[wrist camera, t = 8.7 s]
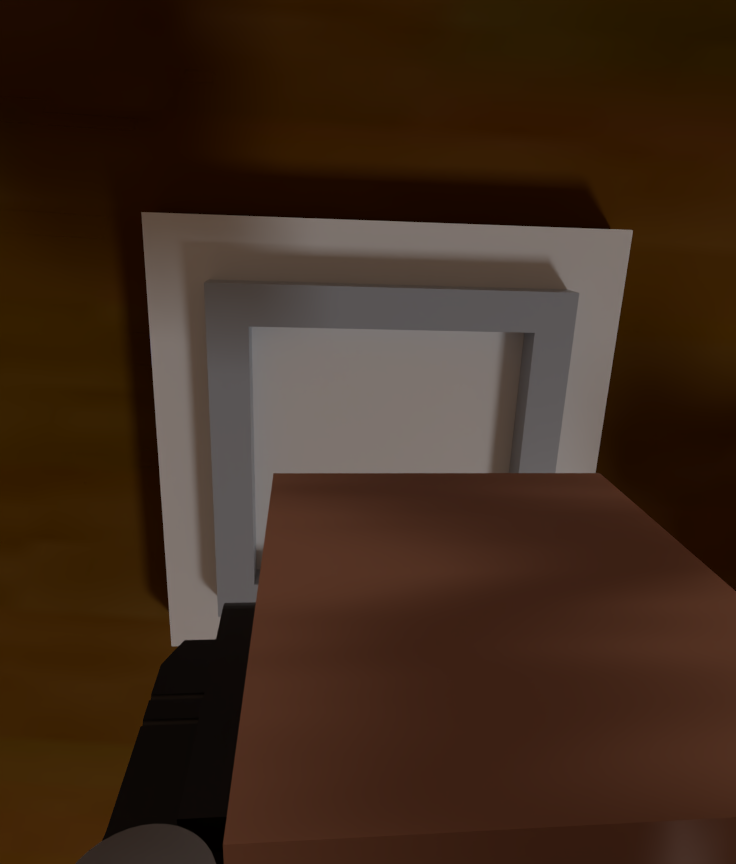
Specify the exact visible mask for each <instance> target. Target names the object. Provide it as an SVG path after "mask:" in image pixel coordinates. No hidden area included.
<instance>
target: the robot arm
mask: <svg viewBox="0 0 736 864" xmlns="http://www.w3.org/2000/svg"><path fill="white" fill-rule="evenodd" d="M255 605H256V602H242V603H224V605H223V609H222V614H221V618H220V623H219V628H218V632H217V637H216V639H209V640H184V641H183V642H182V643H181V644H180V645H179V646H178V648H177V649H176V650H175V651H174V652H173V653H172V654H171V655H170V656H169V657H168V658H167V659H166V660H165V661H164V662H163V663H162V665H161V667H160V670H159V673H158V676H157V679H156V682H155V685H154V688H153V691H152V694H151V700H149V703H148V706H147V709H146V712H145V715H144V718H143V726H141V727H140V731H139V734H138V737H137V740H136V743H135V746H134V749H133V752H132V755H131V758H130V761H129V764H128V767H127V770H126V773H125V776H124V779H123V782H122V785H121V788H120V791H119V794H118V797H117V800H116V804H115V807H114V810H113V813H112V816H111V819H110V822H109V825H108V828H107V831H106V833H105V836H104V838H103V840H102V842H100V843H99V844H97V845H96V846H95V847H93V848H92V849H91V850H89V851H88V852H87V853H86V854H85V855H84V856H83V857H82V858H81V859H79V860H78V861H77V863H76V864H224V858H223V840H224V833H225V826H226V818H227V811H228V804H229V796H230V789H231V782H232V774H233V767H234V760H235V752H236V745H237V738H238V730H239V723H240V716H241V708H242V701H243V694H244V686H245V679H246V671H247V664H248V657H249V649H250V642H251V635H252V627H253V620H254V613H255Z"/></svg>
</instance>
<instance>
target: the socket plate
mask: <svg viewBox="0 0 736 864" xmlns="http://www.w3.org/2000/svg"><path fill="white" fill-rule="evenodd" d="M141 215H142V230H143V244H144V258H145V273H146V287H147V301H148V316H149V330H150V344H151V359H152V373H153V387H154V402H155V416H156V430H157V445H158V459H159V473H160V488H161V502H162V516H163V530H164V545H165V559H166V573H167V588H168V602H169V616H170V631H171V645H172V646H179V645H180V644H181V643H182V642H183V641H184V640H209V639H216V637H217V632H218V628H219V623H220V618H221V614H222V609H223V605H224V603H242V602H256V598H257V591H258V583H259V576H260V569H261V561H262V554H263V547H264V539H265V532H266V525H267V517H268V510H269V502H270V495H271V488H272V480H273V473H596V466H597V460H598V453H599V447H600V440H601V434H602V427H603V421H604V414H605V408H606V401H607V395H608V389H609V382H610V376H611V369H612V363H613V356H614V350H615V343H616V337H617V330H618V324H619V317H620V311H621V304H622V298H623V291H624V285H625V278H626V272H627V266H628V259H629V253H630V246H631V240H632V233H633V230H617V229H589V228H562V227H535V226H508V225H480V224H453V223H426V222H399V221H371V220H344V219H317V218H290V217H262V216H235V215H208V214H181V213H153V212H141Z"/></svg>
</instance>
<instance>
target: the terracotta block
mask: <svg viewBox="0 0 736 864" xmlns="http://www.w3.org/2000/svg"><path fill="white" fill-rule="evenodd" d="M223 858H224V864H736V591H735V590H734V589H733V588H731V587H730V586H729V585H728V584H727V583H726V582H724V581H723V580H722V579H721V578H720V577H719V576H718V575H716V574H715V573H714V572H713V571H712V570H711V569H710V568H708V567H707V566H706V565H705V564H704V563H703V562H701V561H700V560H699V559H698V558H697V557H696V556H695V555H693V554H692V553H691V552H690V551H689V550H688V549H686V548H685V547H684V546H683V545H682V544H681V543H680V542H678V541H677V540H676V539H675V538H674V537H673V536H672V535H670V534H669V533H668V532H667V531H666V530H665V529H663V528H662V527H661V526H660V525H659V524H658V523H657V522H655V521H654V520H653V519H652V518H651V517H650V516H648V515H647V514H646V513H645V512H644V511H643V510H642V509H640V508H639V507H638V506H637V505H636V504H635V503H634V502H632V501H631V500H630V499H629V498H628V497H627V496H625V495H624V494H623V493H622V492H621V491H620V490H619V489H617V488H616V487H615V486H614V485H613V484H612V483H610V482H609V481H608V480H607V479H606V478H605V477H604V476H602V475H601V474H600V473H273V480H272V488H271V495H270V502H269V510H268V517H267V525H266V532H265V539H264V547H263V554H262V561H261V569H260V576H259V583H258V591H257V598H256V605H255V613H254V620H253V627H252V635H251V642H250V649H249V657H248V664H247V671H246V679H245V686H244V694H243V701H242V708H241V716H240V723H239V730H238V738H237V745H236V752H235V760H234V767H233V774H232V782H231V789H230V796H229V804H228V811H227V818H226V826H225V833H224V840H223Z"/></svg>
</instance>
